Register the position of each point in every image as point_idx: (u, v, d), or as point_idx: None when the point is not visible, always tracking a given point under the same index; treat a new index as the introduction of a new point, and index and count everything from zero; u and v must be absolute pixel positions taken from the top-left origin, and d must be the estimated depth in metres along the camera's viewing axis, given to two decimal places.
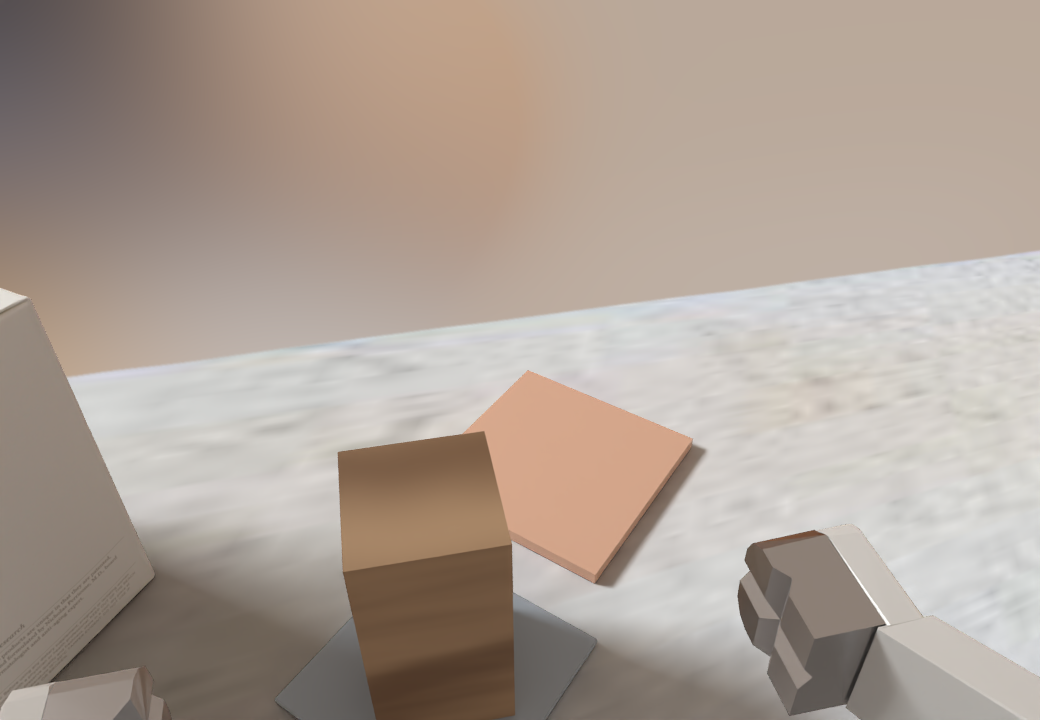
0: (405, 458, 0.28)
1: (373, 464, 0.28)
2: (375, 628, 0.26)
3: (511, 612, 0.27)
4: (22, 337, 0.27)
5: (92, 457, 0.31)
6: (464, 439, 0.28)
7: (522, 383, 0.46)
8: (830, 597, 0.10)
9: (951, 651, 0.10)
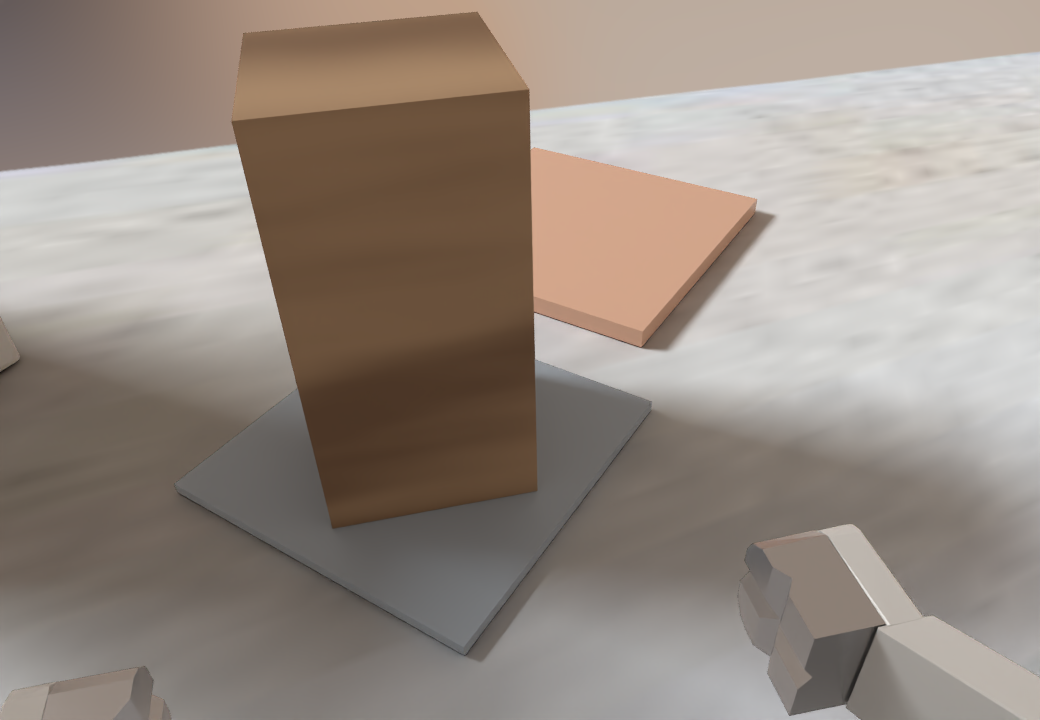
0: (351, 33, 0.17)
1: (299, 39, 0.17)
2: (303, 273, 0.16)
3: (530, 261, 0.16)
4: None
5: None
6: (447, 18, 0.18)
7: None
8: (830, 597, 0.10)
9: (951, 650, 0.10)
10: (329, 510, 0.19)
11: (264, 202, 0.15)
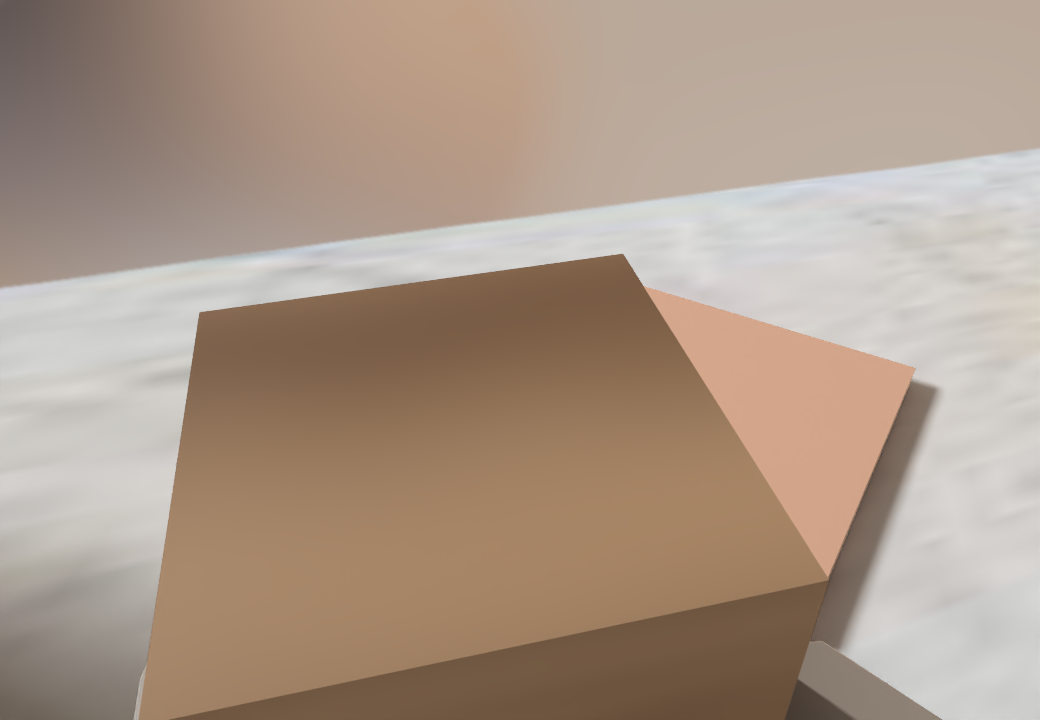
0: (402, 321, 0.09)
1: (303, 339, 0.09)
2: None
3: None
4: None
5: None
6: (573, 274, 0.10)
7: None
8: None
9: (834, 677, 0.10)
10: None
11: None
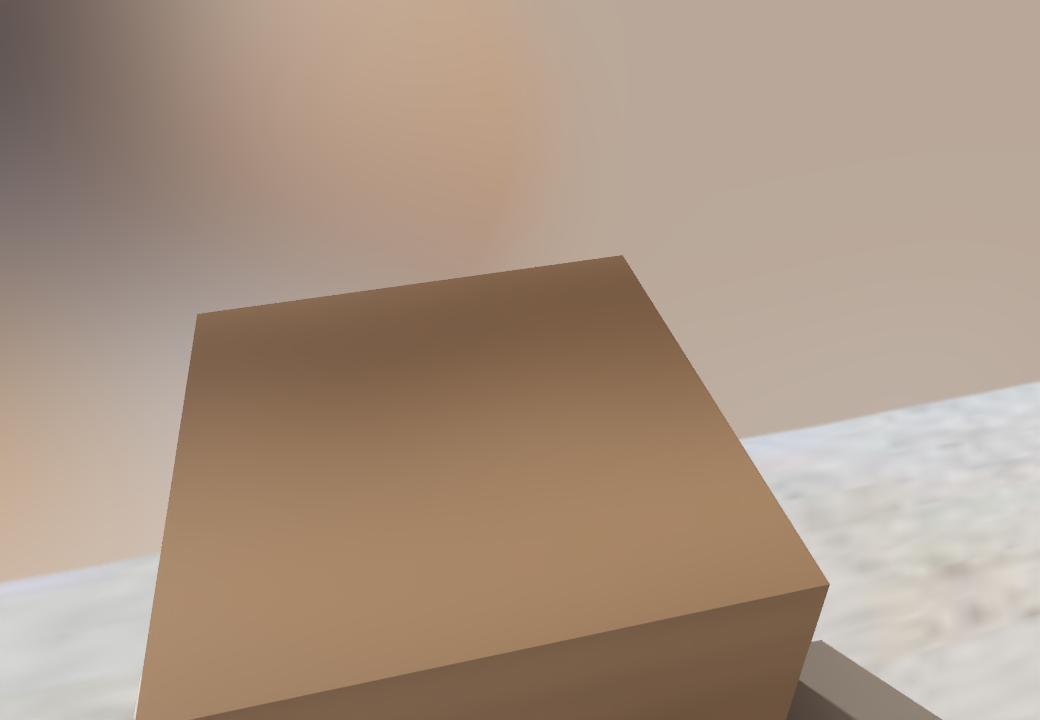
0: (401, 322, 0.09)
1: (302, 341, 0.09)
2: None
3: None
4: None
5: None
6: (572, 275, 0.10)
7: None
8: None
9: (833, 677, 0.10)
10: None
11: None
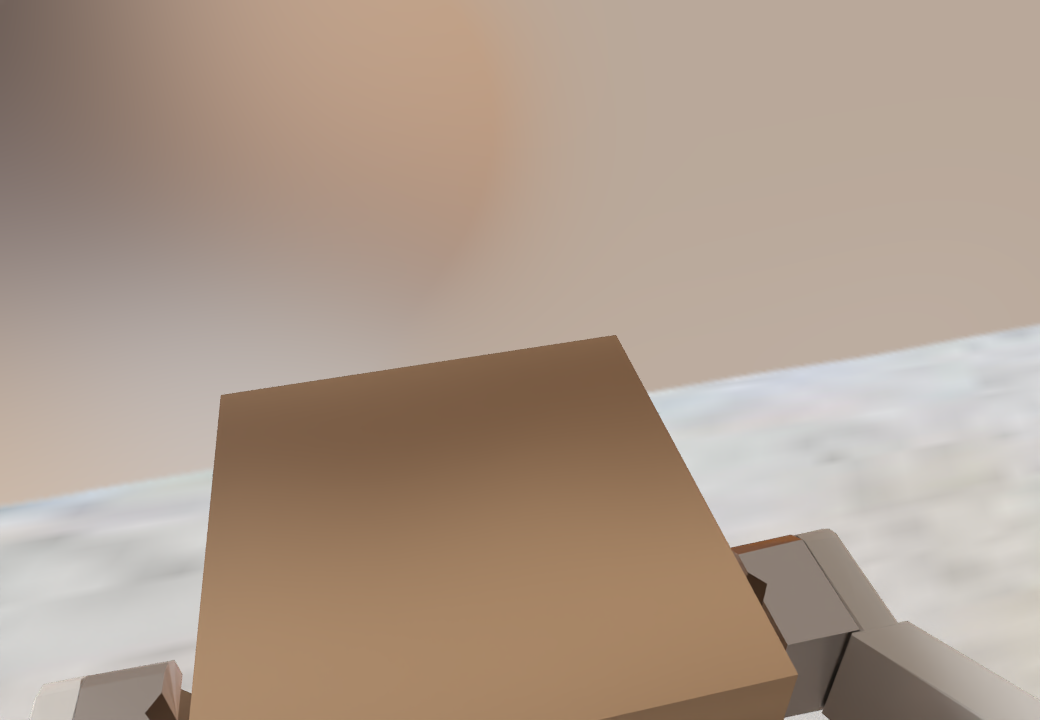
0: (410, 405, 0.10)
1: (318, 424, 0.10)
2: None
3: None
4: None
5: None
6: (569, 356, 0.11)
7: None
8: (805, 602, 0.10)
9: (924, 657, 0.10)
10: None
11: None
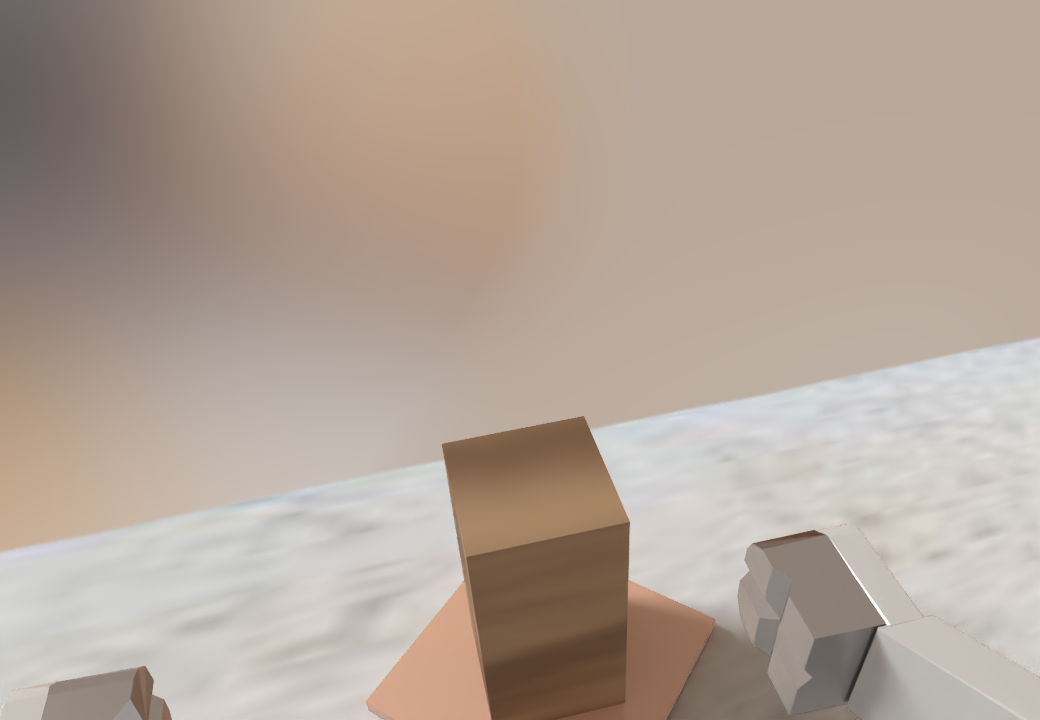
0: (510, 446, 0.28)
1: (479, 453, 0.28)
2: (494, 615, 0.26)
3: (626, 593, 0.27)
4: None
5: None
6: (566, 425, 0.29)
7: None
8: (830, 597, 0.10)
9: (951, 651, 0.10)
10: None
11: (477, 587, 0.25)
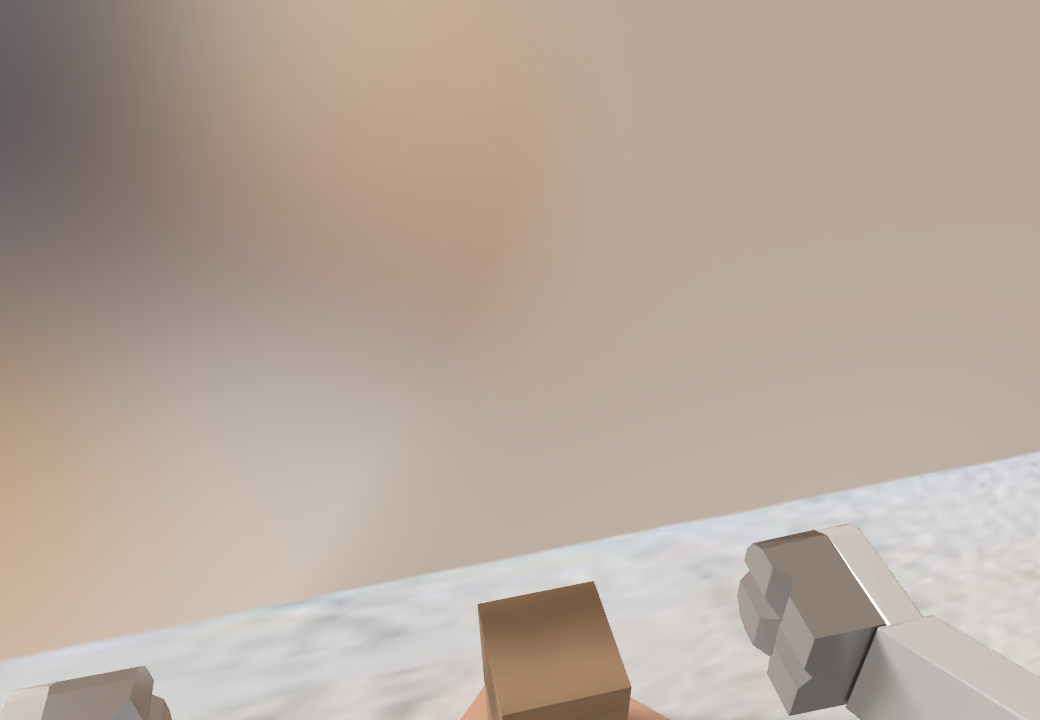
0: (534, 608, 0.34)
1: (508, 615, 0.34)
2: None
3: None
4: None
5: None
6: (579, 590, 0.35)
7: None
8: (830, 597, 0.10)
9: (951, 651, 0.10)
10: None
11: None
